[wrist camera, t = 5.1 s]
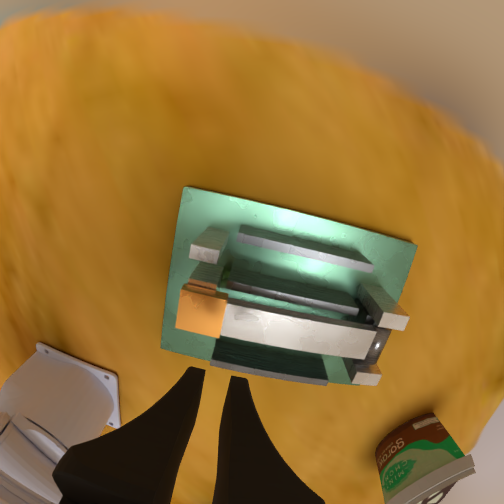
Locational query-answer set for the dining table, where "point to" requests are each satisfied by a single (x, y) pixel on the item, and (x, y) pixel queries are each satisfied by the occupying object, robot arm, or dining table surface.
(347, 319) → the green base metal fixture
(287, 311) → the grey and orange bar
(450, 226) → the dining table surface
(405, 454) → the food container
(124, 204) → the dining table surface
